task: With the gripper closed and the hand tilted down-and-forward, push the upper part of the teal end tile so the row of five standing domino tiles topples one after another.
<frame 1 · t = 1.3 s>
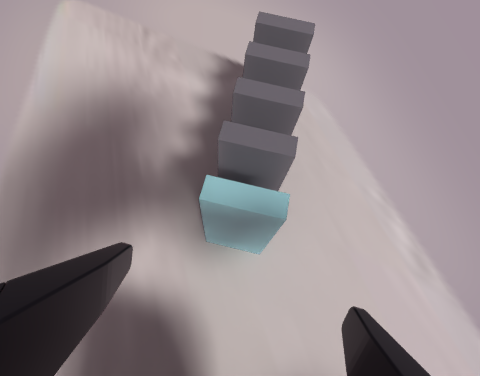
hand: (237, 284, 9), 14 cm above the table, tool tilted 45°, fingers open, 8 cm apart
domino 5: (265, 106, 31), on the table
domino 2: (244, 198, 25), on the table
domino 1: (234, 239, 23), on the table
domino 3: (252, 164, 27), on the table
domino 4: (259, 133, 29), on the table
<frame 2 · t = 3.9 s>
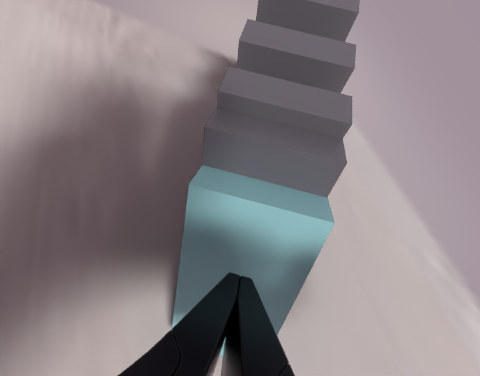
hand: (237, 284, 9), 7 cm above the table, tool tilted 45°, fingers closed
domino 5: (272, 122, 22), on the table
domino 2: (236, 267, 16), on the table, tilted 20°
domino 1: (218, 339, 14), on the table, tilted 33°
domino 3: (250, 210, 18), on the table, tilted 6°
domino 4: (262, 162, 20), on the table
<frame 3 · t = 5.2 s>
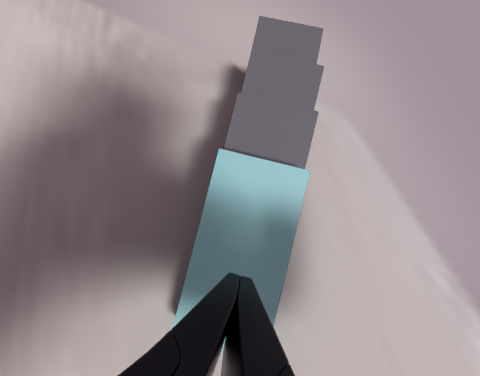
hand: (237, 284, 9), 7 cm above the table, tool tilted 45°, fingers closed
domino 2: (237, 261, 16), point 1 cm above the table, tilted 68°, touching domino 1, domino 3
domino 1: (219, 339, 14), point 1 cm above the table, tilted 68°, touching domino 2
domino 3: (252, 201, 17), point 1 cm above the table, tilted 68°, touching domino 2, domino 4
domino 4: (264, 148, 19), point 1 cm above the table, tilted 71°, touching domino 3, domino 5
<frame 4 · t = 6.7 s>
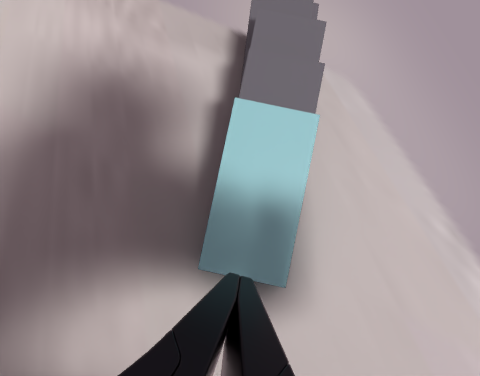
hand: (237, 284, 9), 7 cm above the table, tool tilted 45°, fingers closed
domino 2: (255, 207, 17), point 1 cm above the table, tilted 68°, touching domino 1, domino 3
domino 1: (241, 274, 15), point 1 cm above the table, tilted 68°, touching domino 2
domino 3: (264, 152, 18), point 1 cm above the table, tilted 68°, touching domino 2, domino 4
domino 4: (270, 104, 20), point 1 cm above the table, tilted 73°, touching domino 3, domino 5
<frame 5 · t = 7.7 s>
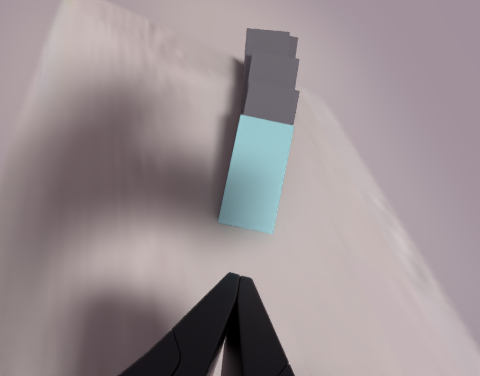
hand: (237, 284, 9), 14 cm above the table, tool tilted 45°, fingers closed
domino 2: (254, 185, 25), point 1 cm above the table, tilted 68°, touching domino 1, domino 3
domino 1: (245, 227, 23), point 1 cm above the table, tilted 69°, touching domino 2
domino 3: (260, 148, 27), point 1 cm above the table, tilted 68°, touching domino 2, domino 4
domino 4: (262, 114, 29), point 1 cm above the table, tilted 73°, touching domino 3, domino 5
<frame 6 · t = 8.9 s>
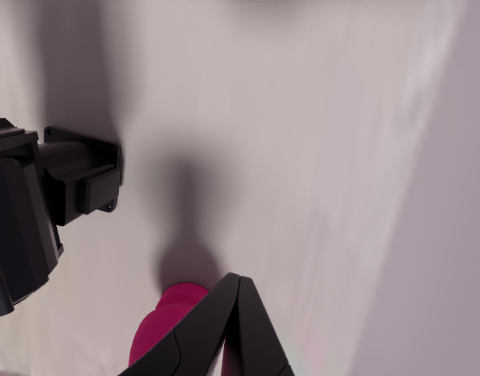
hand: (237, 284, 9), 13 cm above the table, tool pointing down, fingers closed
pepper mill: (190, 305, 27), on the table
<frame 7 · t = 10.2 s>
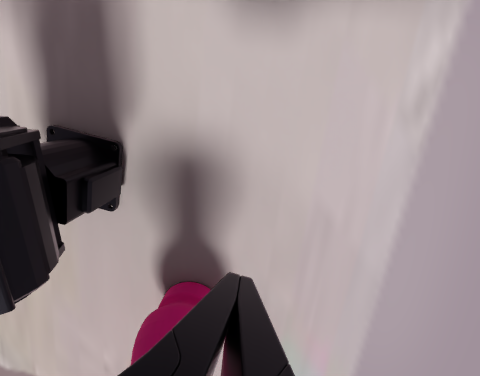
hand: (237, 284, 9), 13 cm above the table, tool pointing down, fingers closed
pepper mill: (193, 304, 27), on the table
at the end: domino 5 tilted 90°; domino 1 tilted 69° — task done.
